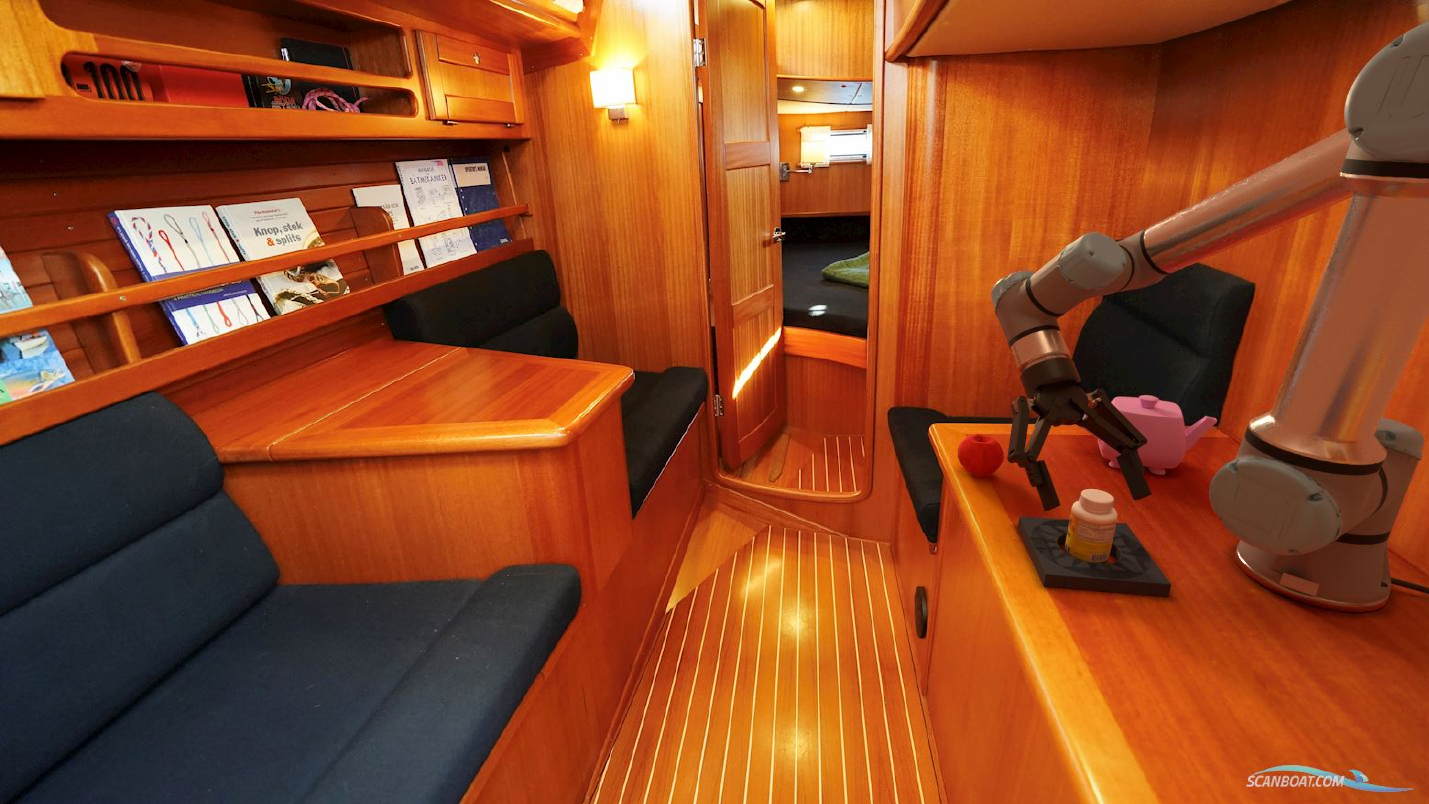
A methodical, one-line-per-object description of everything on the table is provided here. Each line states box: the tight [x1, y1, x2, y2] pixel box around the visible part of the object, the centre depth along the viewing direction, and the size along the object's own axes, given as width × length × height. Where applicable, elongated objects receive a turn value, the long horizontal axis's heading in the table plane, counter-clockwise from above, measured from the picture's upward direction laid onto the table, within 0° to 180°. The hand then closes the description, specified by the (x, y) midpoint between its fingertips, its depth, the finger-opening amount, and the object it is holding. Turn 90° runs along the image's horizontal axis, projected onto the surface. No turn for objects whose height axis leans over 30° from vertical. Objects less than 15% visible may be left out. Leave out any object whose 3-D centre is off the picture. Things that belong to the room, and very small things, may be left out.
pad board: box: [1017, 515, 1172, 598], centre depth 91 cm, size 15×15×2 cm
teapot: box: [1081, 394, 1218, 476], centre depth 116 cm, size 20×12×13 cm, turn 62°
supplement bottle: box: [1064, 488, 1119, 564], centre depth 89 cm, size 6×6×10 cm
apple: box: [957, 433, 1005, 478], centre depth 115 cm, size 8×8×7 cm
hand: (1098, 503), depth 88 cm, fingers open, 13 cm apart
